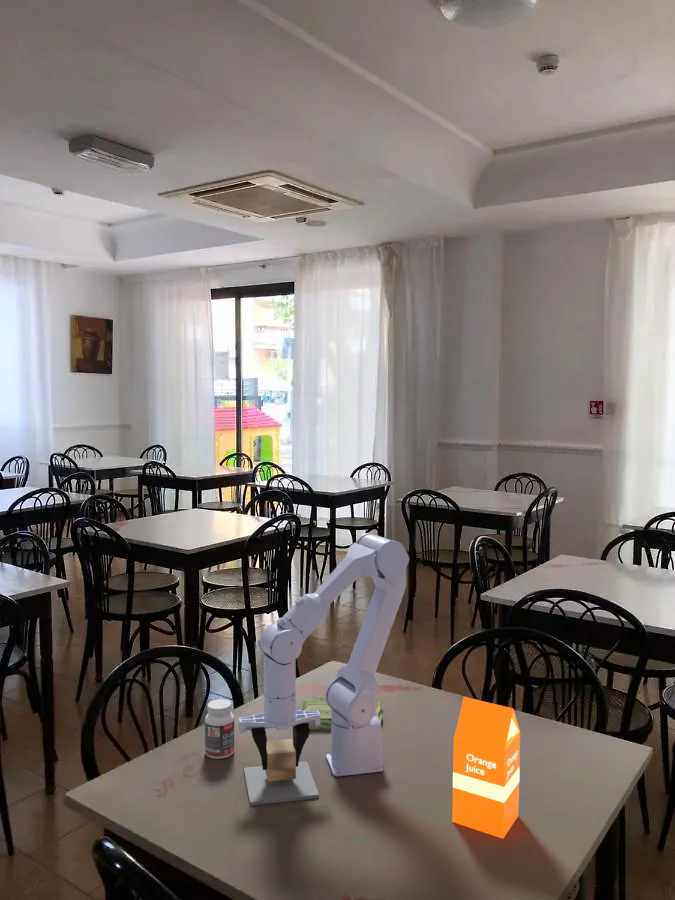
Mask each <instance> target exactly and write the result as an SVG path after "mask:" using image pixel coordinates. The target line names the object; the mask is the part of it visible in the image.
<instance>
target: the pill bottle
mask: <svg viewBox="0 0 675 900" xmlns="http://www.w3.org/2000/svg"><path fill="white" fill-rule="evenodd" d="M232 709H233V706H232V701H231V700H229V699H224V698H222V699H220V698H219V699H213V700H210V701H209V702H208V703H207V712H208V713H207V714H206V716H205V719H204V753H205V755H206V756H207V757H208V758H210V759H215V760H220V759H221V760H222V759H226V758H229V757H230V756H232V755H233V754H234V752H235V716H234V713H232Z"/></svg>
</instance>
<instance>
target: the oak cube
mask: <svg viewBox="0 0 675 900" xmlns="http://www.w3.org/2000/svg"><path fill="white" fill-rule="evenodd" d="M266 756H267V770H265V771H266V776H267V780H268V782H270V781H279V780H288V779H296V751H295V748H294V745H293V738H285V739H276V740H275V739H274V740H267V747H266Z"/></svg>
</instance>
